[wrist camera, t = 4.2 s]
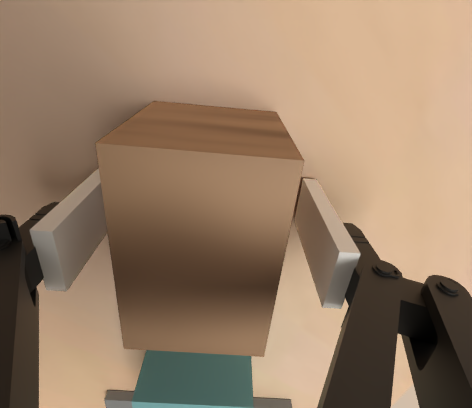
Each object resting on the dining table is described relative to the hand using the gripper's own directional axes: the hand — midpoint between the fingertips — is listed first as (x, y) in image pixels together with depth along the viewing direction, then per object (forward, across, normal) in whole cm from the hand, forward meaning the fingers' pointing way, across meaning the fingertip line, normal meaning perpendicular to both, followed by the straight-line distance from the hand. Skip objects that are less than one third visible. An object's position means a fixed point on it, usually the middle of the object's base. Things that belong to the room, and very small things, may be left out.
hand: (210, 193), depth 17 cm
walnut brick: (0, 0, 0) cm, 0 cm away
